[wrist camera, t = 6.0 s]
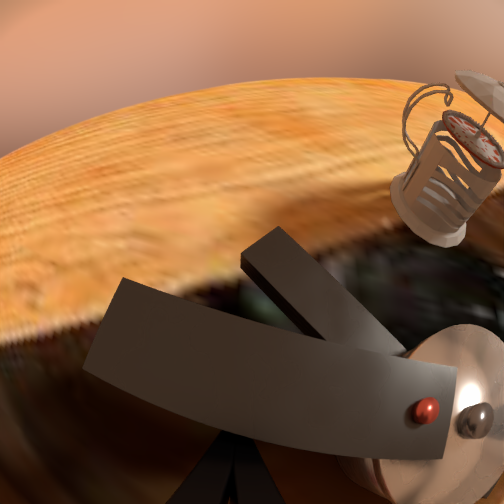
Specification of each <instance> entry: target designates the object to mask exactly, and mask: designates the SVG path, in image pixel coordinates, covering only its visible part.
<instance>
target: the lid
mask: <svg viewBox="0 0 504 504" xmlns="http://www.w3.org/2000/svg"><path fill="white" fill-rule="evenodd" d="M82 369H84V370H86V371H88V372H89V373H91V374H93V375H95V376H97V377H98V378H100V379H102V380H104V381H106V382H108V383H110V384H112V385H114V386H116V387H118V388H120V389H122V390H124V391H126V392H128V393H130V394H132V395H134V396H136V397H138V398H141V399H143V400H145V401H147V402H150V403H152V404H154V405H156V406H159V407H161V408H164V409H166V410H168V411H171V412H173V413H176V414H179V415H181V416H184V417H187V418H189V419H192V420H195V421H198V422H200V423H203V424H206V425H209V426H212V427H215V428H218V429H222V430H225V431H228V432H231V433H235V434H238V435H242V436H245V437H249V438H253V439H257V440H261V441H265V442H269V443H273V444H278V445H282V446H287V447H292V448H297V449H302V450H308V451H314V452H320V453H326V454H334V455H341V456H350V457H360V458H372V462H373V468H374V473H375V476H376V479H377V482H378V484H379V486H380V488H381V490H382V492H383V493H384V495H385V496H386V497H387V499H388V500H389V501H390V502H391V503H393V504H474V503H475V502H476V501H478V500H479V499H480V498H481V497H482V496H483V495H484V494H485V493H486V492H488V491H489V489H490V488H491V487H492V486H493V485H494V484H495V482H496V481H497V480H498V478H499V477H500V476H501V474H502V473H503V471H504V343H503V342H502V341H501V340H500V339H499V338H498V337H497V336H496V335H495V334H493V333H492V332H490V331H489V330H487V329H485V328H482V327H480V326H476V325H470V324H460V325H456V326H451V327H449V328H446V329H444V330H441V331H440V332H438V333H436V334H434V335H432V336H430V337H429V338H427V339H425V340H424V341H422V342H421V343H420V344H418V345H417V346H416V347H414V348H413V349H412V350H411V351H410V352H409V353H408V354H407V355H406V356H405V358H401V357H396V356H391V355H387V354H382V353H377V352H372V351H368V350H363V349H359V348H354V347H350V346H346V345H342V344H337V343H333V342H329V341H325V340H321V339H317V338H313V337H309V336H305V335H302V334H298V333H294V332H290V331H287V330H283V329H279V328H276V327H272V326H269V325H265V324H262V323H258V322H255V321H251V320H248V319H245V318H241V317H238V316H235V315H232V314H228V313H225V312H222V311H219V310H216V309H212V308H209V307H206V306H203V305H200V304H197V303H194V302H191V301H188V300H185V299H182V298H179V297H176V296H173V295H170V294H168V293H165V292H162V291H159V290H156V289H154V288H151V287H148V286H145V285H143V284H140V283H137V282H134V281H132V280H129V279H126V278H124V277H123V278H122V280H121V282H120V284H119V286H118V288H117V290H116V292H115V294H114V296H113V299H112V301H111V303H110V305H109V307H108V309H107V311H106V314H105V316H104V318H103V320H102V322H101V325H100V327H99V329H98V331H97V334H96V336H95V338H94V341H93V343H92V346H91V348H90V350H89V353H88V355H87V358H86V360H85V363H84V365H83V368H82Z"/></svg>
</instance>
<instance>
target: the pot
mask: <svg viewBox="0 0 504 504" xmlns="http://www.w3.org/2000/svg"><path fill="white" fill-rule="evenodd" d="M240 268H241V269H242V270H243V271H244V272H245V273H246V274H247V275H248V276H249V277H250V278H251V279H252V280H253V282H254V283H255V284H256V285H257V286H258V287H259V288H260V289H261V290H262V291H263V292H264V293H265V294H266V295H267V296H268V297H269V298H270V299H271V300H272V301H273V302H274V303H275V304H276V306H277V307H278V308H279V309H280V310H281V311H282V312H283V313H284V314H285V315H286V316H287V317H288V318H289V319H290V320H291V321H292V322H293V323H294V324H295V325H296V326H297V327H298V328H299V329H300V330H301V331H302V332H303V333H304V334H305V335H306V336H309V337H313V338H317V339H321V340H325V341H329V342H333V343H337V344H342V345H346V346H350V347H354V348H359V349H363V350H368V351H372V352H377V353H382V354H387V355H391V356H396V357H401V358H405V356H406V355H407V354H408V353H409V352H410V351H411V350H410V351H408V352H406V351H407V350H406V349H405V348H404V347H403V346H402V345H401V344H400V343H399V342H398V341H397V340H396V339H395V338H394V337H393V336H392V335H391V334H390V333H389V332H388V331H387V330H386V329H385V328H384V327H383V326H382V325H381V324H380V322H379V321H378V320H377V319H376V318H375V317H374V316H373V315H372V314H370V313H369V312H368V311H367V310H366V309H365V308H364V307H363V306H362V305H361V304H360V303H359V302H358V301H357V300H356V299H355V298H354V297H353V296H352V295H351V294H350V293H349V292H348V291H347V290H346V289H345V288H344V287H343V286H342V285H341V284H340V283H339V282H338V281H337V280H336V279H335V278H334V277H333V276H332V275H331V274H329V273H328V272H327V271H326V270H325V269H324V268H323V267H322V266H321V265H320V264H319V263H318V262H317V261H316V260H315V259H314V258H313V257H312V256H310V255H309V254H308V253H307V252H306V251H305V250H304V249H303V248H302V247H301V246H300V245H299V244H298V243H297V242H296V241H294V240H293V239H292V238H291V237H290V236H289V235H288V234H287V233H286V232H285V231H284V230H283V229H281V228H280V227H279V226H278V227H276V228H275V229H273V230H272V231H271V232H269V233H268V234H267V235H265V236H264V237H262V238H261V239H260V240H258V241H257V242H255V243H254V244H253V245H251V246H250V247H248V248H247V249H246V250H244V251H243V252H242V253H241V267H240ZM405 352H406V353H405ZM336 458H337V461H338V463H339V465H340V467H341V469H342V470H343V472H344V473H345V475H346V476H347V477H348V478H349V479H350V480H352V481H353V482H354V483H356V484H357V485H359V486H361V487H363V488H365V489H367V490H369V491H371V492H373V493H375V494H377V495H379V496H381V497H383V498H386V499H387V497H386V496H385V495H384V493H383V492H382V490H381V488H380V486H379V484H378V482H377V479H376V476H375V473H374V468H373V462H372V458H360V457H350V456H341V455H336ZM501 475H502V474H501ZM499 478H500V477H499ZM499 478H498V480H499ZM498 480H497V481H498ZM497 481H496V482H495V484H494V485H493V486H492V487H491V488H490V489H489V491H488V492H486V493H485V494H484V495H483V496H482V497H481V498H486V499H487V497H488V496H489V494H490V493H491V491H492V489H493V488H494V486H495V485H496V483H497Z"/></svg>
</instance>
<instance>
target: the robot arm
mask: <svg viewBox="0 0 504 504" xmlns="http://www.w3.org/2000/svg"><path fill="white" fill-rule="evenodd" d="M229 497H230V504H286V503H285V502H284V500H283V498H282V496H281V494H280V492H279V490H278V489H277V487H276V485H275V483H274V481H273V479H272V477H271V475H270V473H269V471H268V469H267V467H266V465H265V463H264V461H263V459H262V457H261V455H260V453H259V451H258V449H257V447H256V445H255V443H254V440H253V438H249V437H245V436H242V435H238V434H235V433H231V432H228V431H225V430H222V431H221V432H220V433H219V435H218V436H217V437H216V439H215V440H214V441H213V443H212V444H211V446H210V447H209V448H208V450H207V451H206V452H205V454H204V455H203V456H202V458H201V459H200V460H199V462H198V463H197V464H196V466H195V467H194V468H193V470H192V471H191V472H190V473H189V475H188V476H187V477H186V479H185V480H184V481H183V482H182V484H181V485H180V486H179V487H178V489H177V490H176V491H175V492H174V494H173V495H172V496H171V497H170V499H169V500H168V501H167V502H166V503H165V504H228V501H229Z"/></svg>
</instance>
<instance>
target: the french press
mask: <svg viewBox="0 0 504 504" xmlns="http://www.w3.org/2000/svg"><path fill="white" fill-rule="evenodd" d="M455 78H456V81H457V83H458V84H459V85H460V87H461V88H462V89H463V90H464V91H465V92H466V93H468V94H469V95H470V96H471V97H472V98H473V99H474V100H475V101H477V102H478V103H479V104H480V105H481V106H483V107H484V108H485V109H486V110H487V111H488V112H489V113H488V115H487V117H486V118H485V120H484V122H483V124H482V125H481V126H480V123H478V124H477V121H476V122H474V119H472V118H471V117H469V116H466V115H464V114H463V113H461V112H457V111H453V110H447V111H444V112H443V115H442V120H439V121H437V122H434V124H433V126H432V128H431V130H430V132H429V134H428V136H427V138H426V140H425V142H424V144H423V146H422V147H421V149H420V151H419V150H418V148H417V147H416V145H415V144H414V143H413V142H412V141H411V139H410V138H409V136H408V134H407V132H406V120H407V118H408V116H409V114H410V112H411V110H412V108H413V107H414V106H415V105H416V104H417V103H418V102H419V101H420V100H421V99H422V98H424V97H426V96H429V95H432V94H435V93H446V95H445V97H444V102H445V104H446V106H450V104H451V102H452V100H453V94H452V93H451V92H450V88H449V86H448V85H446V84H443V83H431V84H428V85H425V86H422V87H420V88H419V89H418V90H417V91H415V92H414V93H413V94H412V95H411V96H410V97H409V98H408V101H407V103H406V106H405V108H404V111H403V117H402V125H403V128H402V134H403V141H404V143H405V145H406V147H407V149H408V150H409V151H410V153H411V154H412V155H413V156H414V158H413V160H412V162H411V164H410V166H409V168H408V170H407V171H406V172H403V173H401V174H399V175H397V176H395V177H394V179H393V181H392V183H391V185H390V193H391V201H392V203H393V205H394V207H395V209H396V211H397V213H398V214H399V216H400V218H401V219H402V220H403V221H404V222H405V223H406V224H407V226H408V227H409V228H410V229H411V230H412V231H413V232H414V233H415V234H417V235H418V236H420V237H421V238H423V239H424V240H426V241H427V242H429V243H431V244H435V245H438V246H442V247H445V248H446V247H451V246H456V245H458V244H459V243H460V242H461V241H462V239H463V238H464V237H465V231H466V221H467V220H468V219H469V217H470V216H471V215H472V214H473V213H474V212H475V210H476V209H477V208H478V207H479V206H480V205H481V203H482V202H483V201H484V200H485V199H486V197H487V196H488V195H489V193H490V192H491V191H492V190H493V188H494V187H495V186H496V184H497V183H498V182H499V180H500V179H501V176H502V174H501V169H504V150H502V147H500V146H501V145H499V143H498V142H496V140H495V139H494V138H493V137H492V135H490V133H488V132H487V130H485V128H483V126H484V125H485V123H486V121H487V119H488V117H489V116H490V114H492V115H493V116H495V117H496V118H497V119H499V120H500V121H501V122H502V123H504V83H503V82H500V81H496V80H495V79H493V78H491V77H489V76H486V75H484V74H481V73H478V72H475V71H471V70H461V71H456V73H455ZM432 86H445V87H446V88H447V90H433V91H430V92H428V93H425V94H423V95H421V96H420V97H418V99H417V100H416V101H415V102H414V103H413V104H412V105H411V106H410V107H409V104H410V102H411V100H412V99H413V98H414V97H415V96H416V95H417V94H418V93H420V92H421V91H422V90H424V89H426V88H429V87H432ZM448 95H450V98H449V100H448V102H447V97H448ZM408 107H409V108H408ZM439 131H448V132H449V133H450V134H451V136H452V137H453V138H454V139H455V140H456V141H457V142H458V143H459V144H460V145H461V146H462V147H463V148H464V149H465V150H467V151H468V152H469V154H470V155H471V156H472V158H473V159H474V161H475V162H476V163H477V164H478V165H479V166H480V167H481V168H482V170H481V171H480V173H479V172H478V171H477V170H476V169H475V168H474V167H473V166H472V165H471V163H470V162H469V161H468V159H467V158H466V156H465V155H464V153H463V152H462V150H461V149H460V147H459V146H458V144H457V143H456V141H454V140H453V139H452V138H450V137H449V136H442V135H438V136H436V135H435V133H436V132H439ZM406 137H407V139H408V141H409V142H410V143H411V144H412V145H413V147H414V148H415V149H416V152H417V153H416V154H414V153H413V152H412V150H411V149H410V148H409V145H408V143H407V141H406ZM439 141H446V142H447V143H449V144H450V145H452V146H453V147H454V149H455V150H456V152H457V153H458V155H459V156H460V158H461V159H462V161H463V163H464V164H465V165H466V167H467V168H468V170H469V171H468V170H467V169H466V168H465V167H463V166H462V165H461V164H460V163H459V162H458V161H457V159H456V158H455V156H454V155H453V153H452V152H451V150H449V149H448V148H446V147H445V146H443V145H442V144H441V143H440V142H439ZM438 165H439V166H441V167H443V168H445V169H447V171H448V172H449V174H450V176H451V177H452V179H453V180H454V181H452V180H451V179H449V178H448V177H446V175H445V173H444V172H443V170H442V169H441V168H440V167H439V166H438ZM456 175H457V176H458V177H460V178H461V179H462V180H463V181H464V182H465V183H466V184H467V185H468V186H469V188H468V189H467V188H466V187H465V186H464V185H463V184H462V183H461V182H460V180H459V179H458V177H457V176H456Z"/></svg>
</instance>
